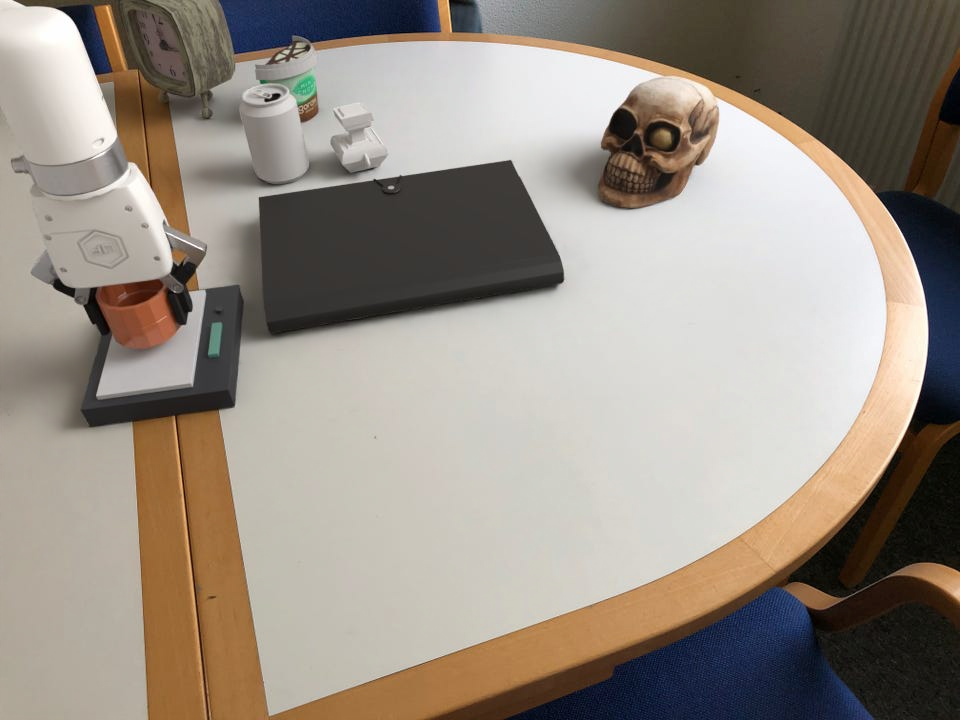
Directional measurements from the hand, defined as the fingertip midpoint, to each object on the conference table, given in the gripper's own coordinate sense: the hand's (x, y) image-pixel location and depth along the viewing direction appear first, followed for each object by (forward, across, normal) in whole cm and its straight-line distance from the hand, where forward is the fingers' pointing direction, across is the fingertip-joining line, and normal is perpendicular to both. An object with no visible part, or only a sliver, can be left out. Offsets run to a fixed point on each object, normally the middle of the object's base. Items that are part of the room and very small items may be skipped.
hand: (146, 320), depth 80 cm
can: (+6, +12, +37) cm, 39 cm away
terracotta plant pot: (+1, 0, 0) cm, 1 cm away
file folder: (+6, +27, +14) cm, 31 cm away
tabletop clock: (+6, -2, +63) cm, 63 cm away
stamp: (+6, +23, +37) cm, 44 cm away
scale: (+6, +1, 0) cm, 6 cm away
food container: (+6, +15, +55) cm, 57 cm away
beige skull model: (+6, +62, +25) cm, 67 cm away
